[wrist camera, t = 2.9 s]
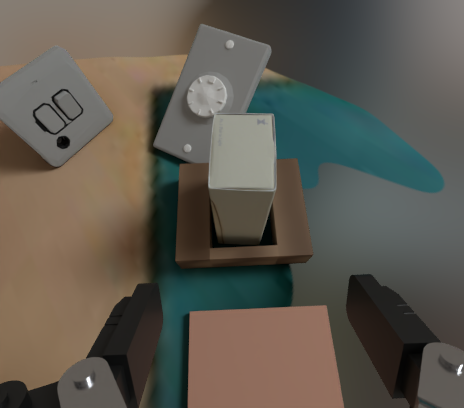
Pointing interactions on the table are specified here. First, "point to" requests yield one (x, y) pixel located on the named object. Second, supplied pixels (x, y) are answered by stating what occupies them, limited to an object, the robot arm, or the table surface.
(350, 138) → the table surface
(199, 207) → the frame
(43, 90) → the electrical switch
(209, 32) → the light switch
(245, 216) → the skincare box
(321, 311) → the terracotta mat
